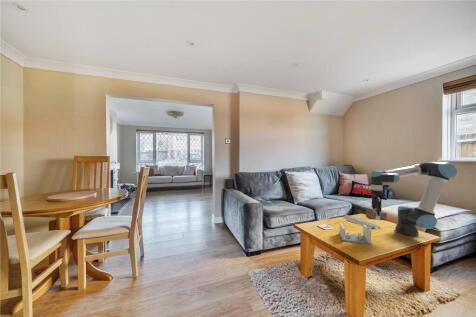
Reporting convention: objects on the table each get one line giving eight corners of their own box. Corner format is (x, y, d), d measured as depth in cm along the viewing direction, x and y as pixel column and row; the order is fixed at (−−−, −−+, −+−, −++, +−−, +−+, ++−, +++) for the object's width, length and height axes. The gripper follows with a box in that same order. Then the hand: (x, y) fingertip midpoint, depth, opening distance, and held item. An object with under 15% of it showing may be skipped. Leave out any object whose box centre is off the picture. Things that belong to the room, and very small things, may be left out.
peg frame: (365, 236, 153) (366, 225, 153) (371, 244, 140) (371, 231, 139) (338, 233, 160) (339, 222, 159) (342, 240, 146) (342, 228, 146)
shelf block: (382, 217, 151) (382, 210, 150) (386, 220, 145) (386, 212, 145) (365, 216, 153) (366, 209, 153) (369, 219, 147) (369, 211, 147)
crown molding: (380, 228, 171) (380, 224, 171) (370, 230, 168) (370, 226, 168) (351, 217, 201) (351, 214, 201) (342, 218, 198) (342, 215, 198)
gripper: (367, 187, 159) (366, 213, 159) (375, 191, 140) (375, 221, 141) (377, 188, 156) (377, 214, 157) (387, 192, 138) (386, 222, 138)
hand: (376, 217), depth 149 cm, fingers closed on shelf block, 6 cm apart
